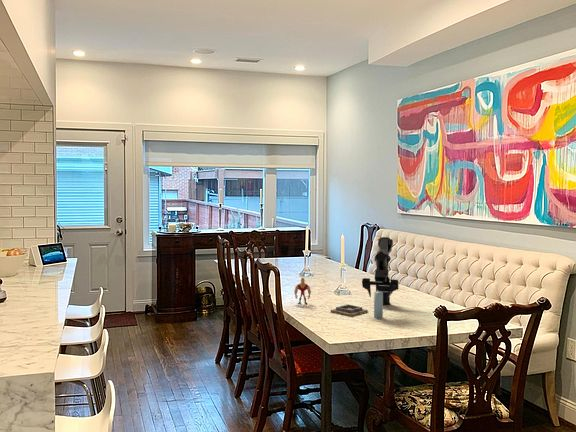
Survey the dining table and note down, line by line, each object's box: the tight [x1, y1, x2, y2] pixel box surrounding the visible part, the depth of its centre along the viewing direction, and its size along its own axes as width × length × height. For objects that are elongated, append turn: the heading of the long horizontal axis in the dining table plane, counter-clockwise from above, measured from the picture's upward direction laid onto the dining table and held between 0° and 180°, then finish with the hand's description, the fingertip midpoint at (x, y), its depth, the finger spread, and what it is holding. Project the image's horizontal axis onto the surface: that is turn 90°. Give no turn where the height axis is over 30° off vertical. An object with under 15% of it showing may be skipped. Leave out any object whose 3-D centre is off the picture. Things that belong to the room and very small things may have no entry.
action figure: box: [294, 277, 312, 305], centre depth 324 cm, size 10×4×15 cm, turn 88°
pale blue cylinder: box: [373, 291, 384, 319], centre depth 292 cm, size 4×4×13 cm
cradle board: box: [330, 303, 369, 317], centre depth 303 cm, size 14×14×3 cm
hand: (379, 297), depth 294 cm, fingers open, 9 cm apart
